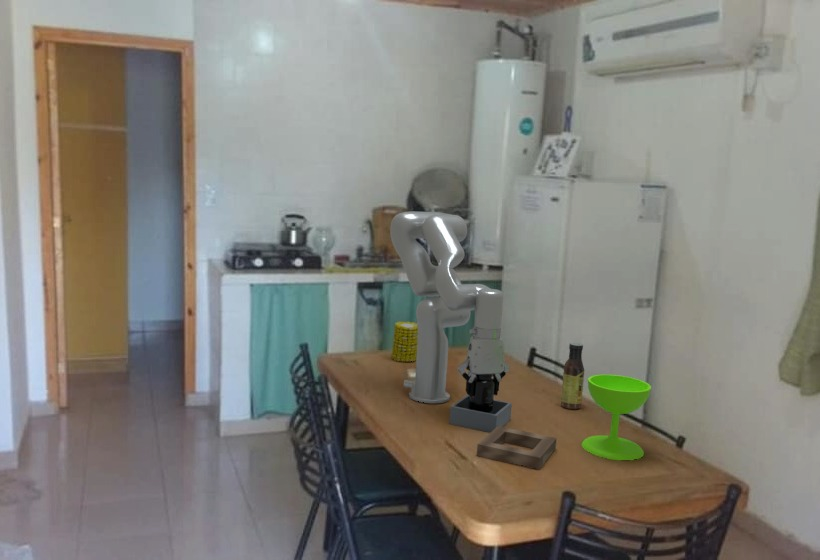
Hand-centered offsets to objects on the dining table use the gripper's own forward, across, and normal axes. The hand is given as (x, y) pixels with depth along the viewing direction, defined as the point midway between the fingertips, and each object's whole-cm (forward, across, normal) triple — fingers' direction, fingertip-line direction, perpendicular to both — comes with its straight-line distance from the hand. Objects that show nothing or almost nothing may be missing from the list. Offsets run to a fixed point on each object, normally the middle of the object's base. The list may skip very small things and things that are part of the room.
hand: (481, 394), depth 213 cm
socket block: (+8, -1, -24) cm, 25 cm away
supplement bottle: (+5, 0, 0) cm, 5 cm away
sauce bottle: (+8, +35, +8) cm, 36 cm away
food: (+9, +2, +68) cm, 68 cm away
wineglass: (+8, +26, -26) cm, 38 cm away
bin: (+8, 0, 0) cm, 8 cm away
